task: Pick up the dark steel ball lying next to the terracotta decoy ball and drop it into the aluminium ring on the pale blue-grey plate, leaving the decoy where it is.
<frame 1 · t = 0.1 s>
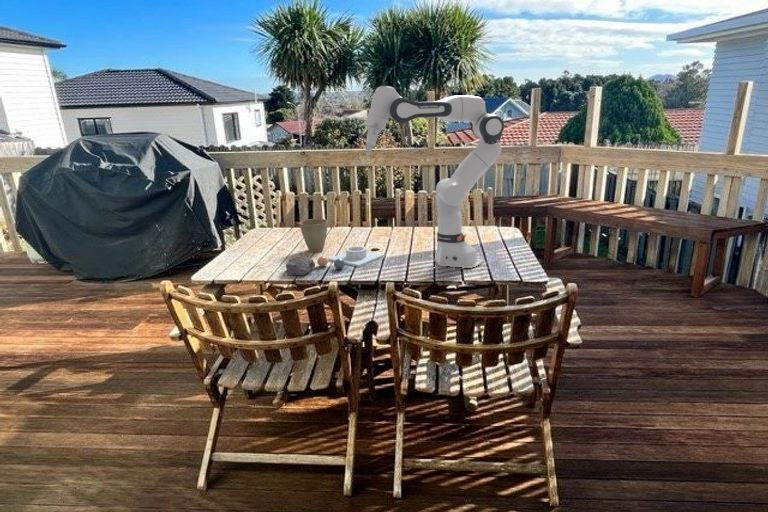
hand: (367, 154, 200), 52 cm above the table, tool tilted 20°, fingers open, 8 cm apart
decoy ball: (322, 261, 216), point 2 cm above the table
plant pot: (315, 250, 243), on the table
rock: (300, 272, 210), on the table
ring plate: (356, 258, 226), on the table
steel ball: (339, 263, 210), point 2 cm above the table
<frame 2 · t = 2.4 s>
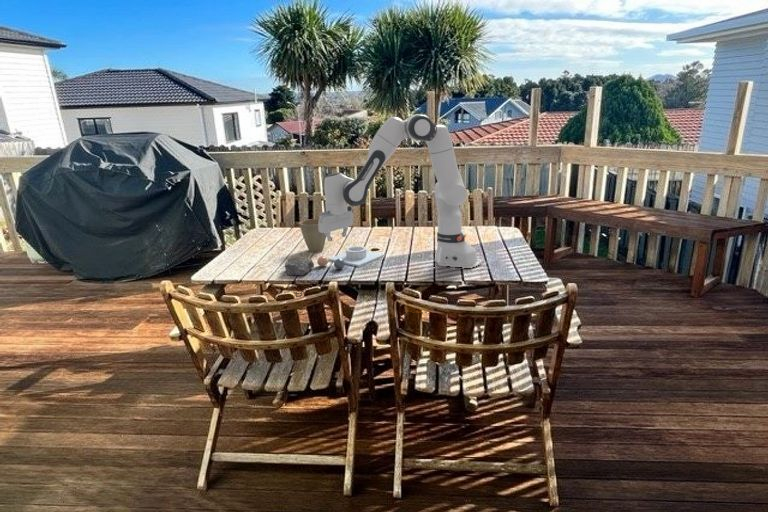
hand: (337, 238, 207), 15 cm above the table, tool pointing down, fingers open, 8 cm apart
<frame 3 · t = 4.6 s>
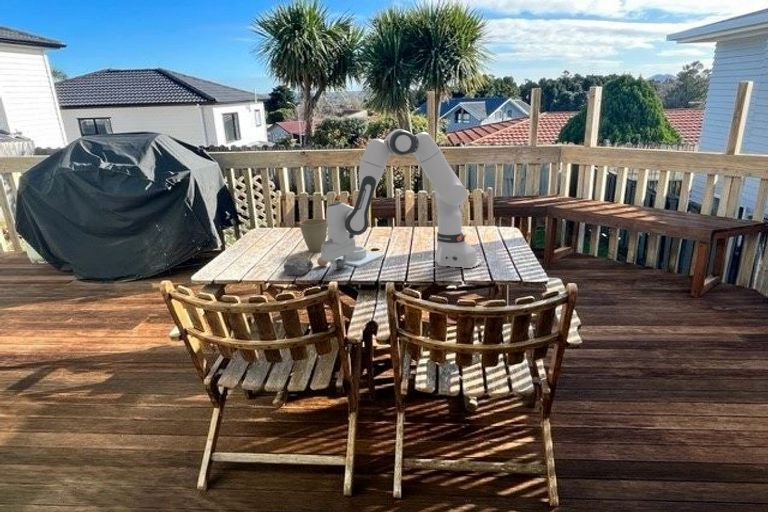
hand: (339, 265, 211), 2 cm above the table, tool pointing down, fingers closed on steel ball, 5 cm apart
steel ball: (339, 263, 210), point 2 cm above the table, touching gripper
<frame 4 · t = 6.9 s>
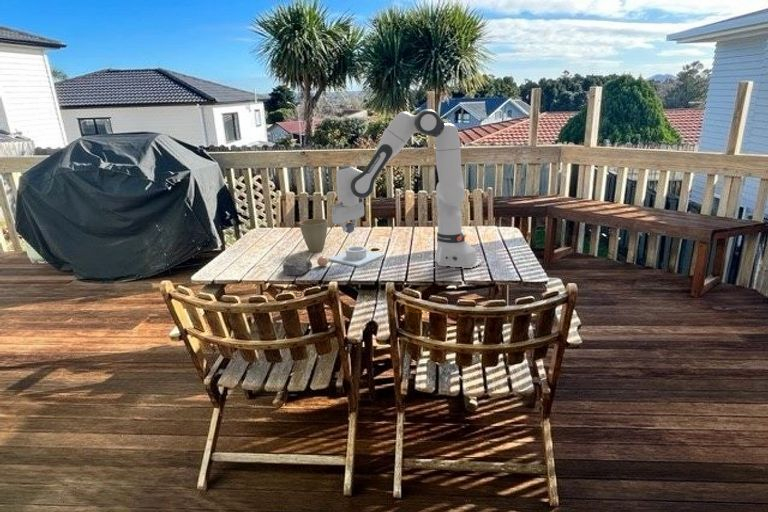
hand: (349, 229, 216), 17 cm above the table, tool pointing down, fingers closed on steel ball, 5 cm apart
steel ball: (349, 227, 216), point 17 cm above the table, touching gripper
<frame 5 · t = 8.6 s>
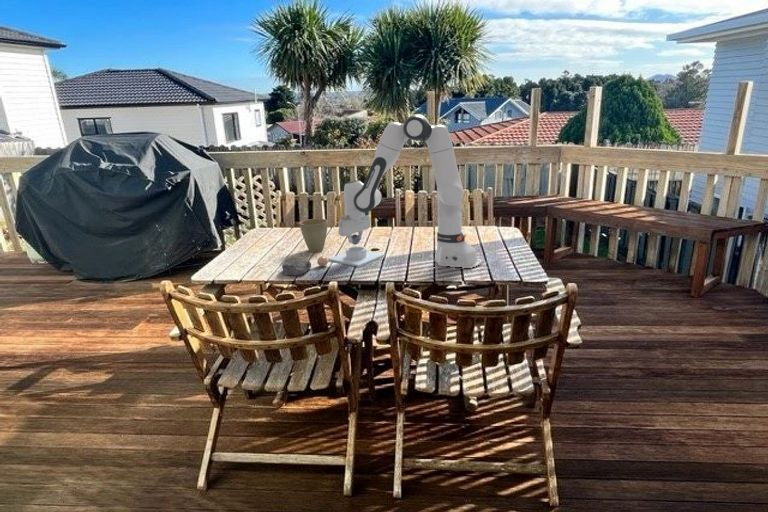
hand: (355, 241, 224), 9 cm above the table, tool pointing down, fingers closed on steel ball, 5 cm apart
steel ball: (355, 239, 223), point 10 cm above the table, touching gripper
when the fingers open (7 cm above the table, at t = 9.7 s): steel ball drops 4 cm, resting on ring plate.
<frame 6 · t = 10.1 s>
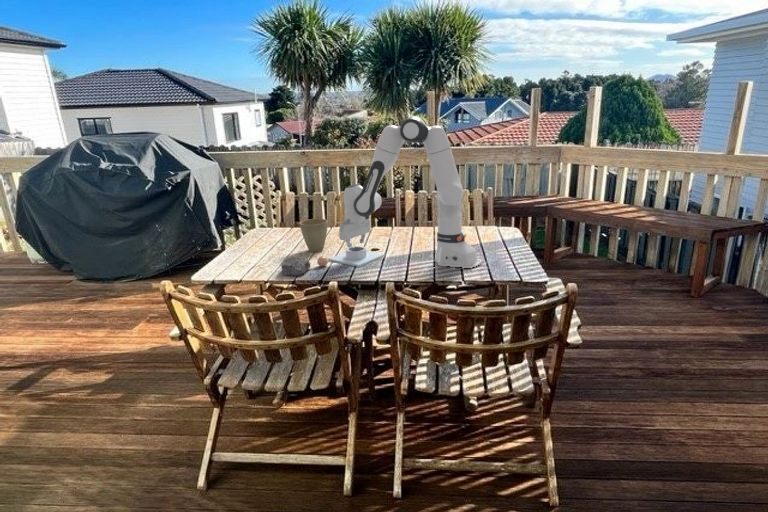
hand: (355, 244, 224), 7 cm above the table, tool pointing down, fingers open, 8 cm apart
steel ball: (356, 251, 226), point 3 cm above the table, tilted 6°, touching ring plate
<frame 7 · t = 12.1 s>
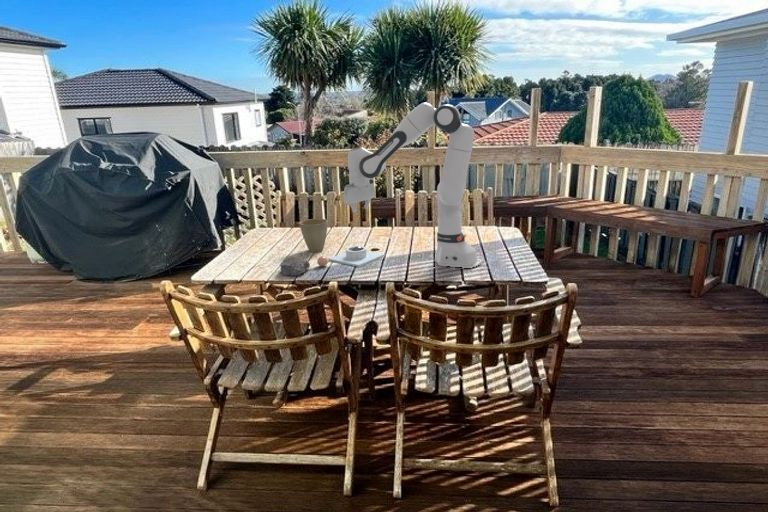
hand: (360, 210, 221), 24 cm above the table, tool pointing down, fingers open, 8 cm apart
steel ball: (357, 251, 226), point 3 cm above the table, tilted 31°, touching ring plate
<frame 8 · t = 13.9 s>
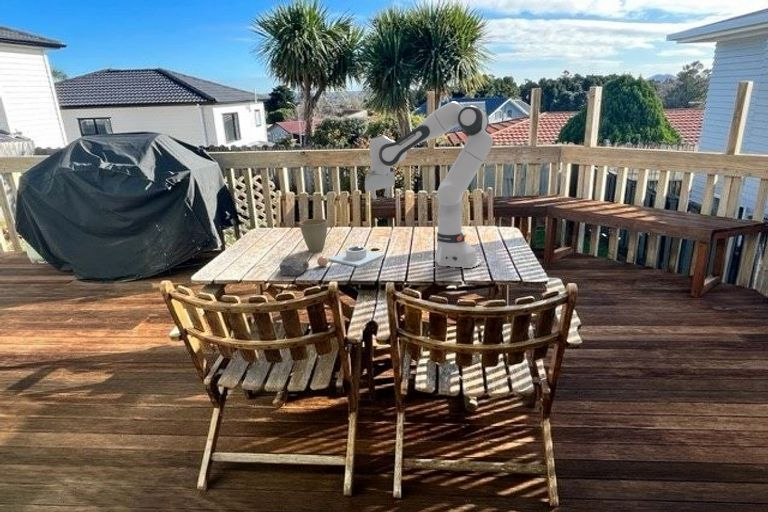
hand: (380, 197, 225), 29 cm above the table, tool pointing down, fingers open, 8 cm apart
at the end: steel ball 1.3 cm off-centre on the ring plate, point 3.5 cm above the ring plate's base; the gripper is holding nothing; decoy ball moved 0.0 cm from its start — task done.
